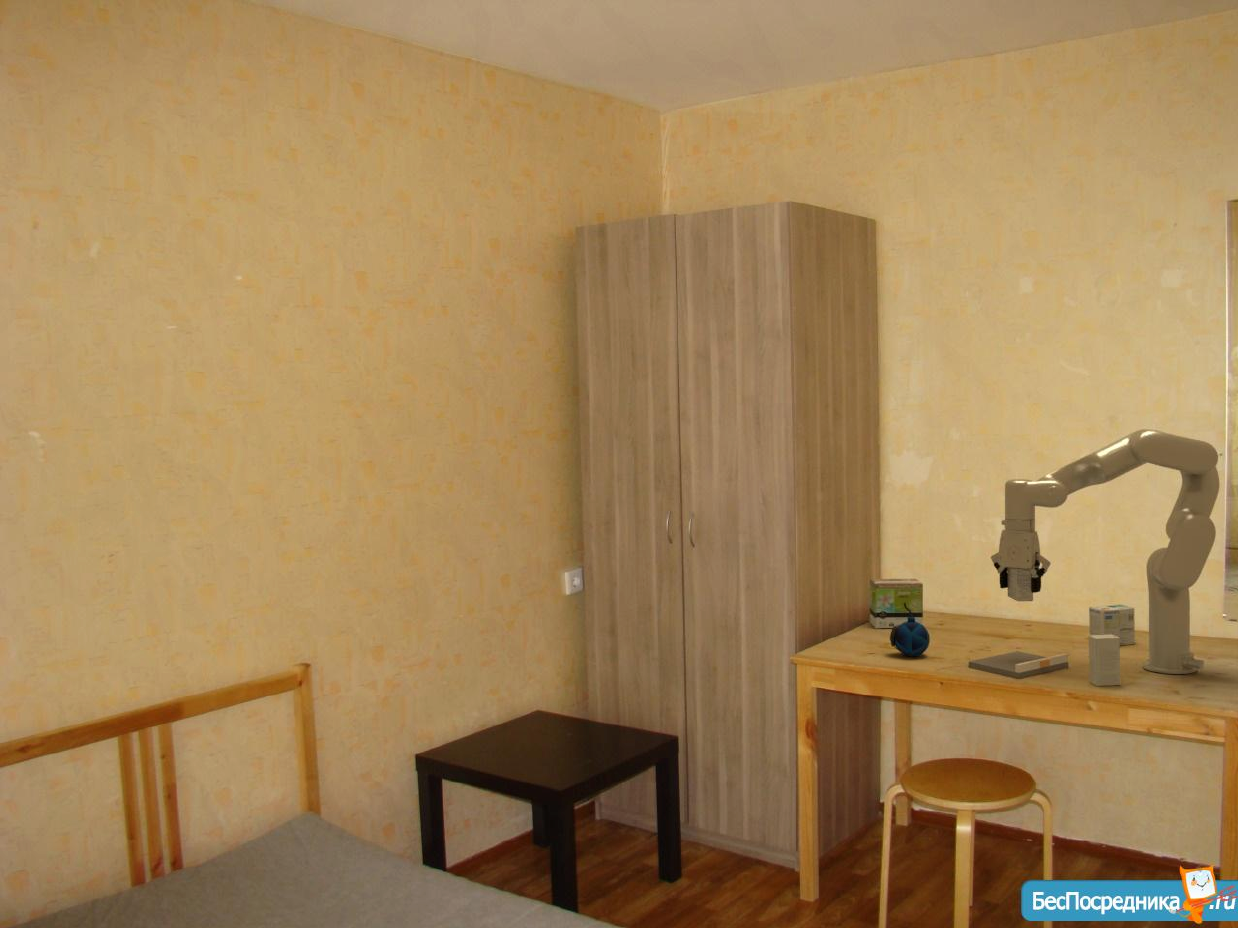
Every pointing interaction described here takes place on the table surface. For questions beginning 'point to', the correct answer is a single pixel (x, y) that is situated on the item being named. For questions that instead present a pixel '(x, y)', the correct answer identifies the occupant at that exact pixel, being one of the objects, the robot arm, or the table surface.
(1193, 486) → the robot arm
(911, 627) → the bomb
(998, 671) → the shelf board
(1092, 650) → the skincare box
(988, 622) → the table surface
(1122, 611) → the light bulb box
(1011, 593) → the medicine box
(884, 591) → the tea box
